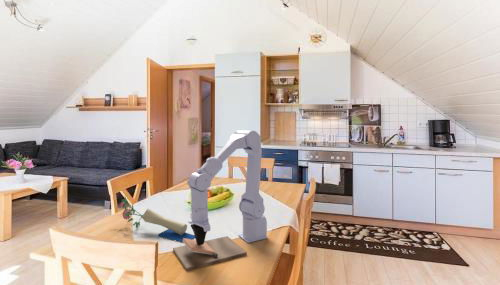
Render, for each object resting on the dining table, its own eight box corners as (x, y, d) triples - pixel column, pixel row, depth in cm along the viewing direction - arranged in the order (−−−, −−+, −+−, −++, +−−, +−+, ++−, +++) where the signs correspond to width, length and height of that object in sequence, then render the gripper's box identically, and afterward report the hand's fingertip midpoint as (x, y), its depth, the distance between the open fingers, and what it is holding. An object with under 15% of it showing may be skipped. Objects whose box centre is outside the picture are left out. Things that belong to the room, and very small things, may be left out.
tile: (183, 238, 103) (182, 241, 103) (191, 247, 95) (190, 251, 95) (205, 242, 108) (204, 245, 108) (214, 251, 100) (213, 255, 100)
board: (227, 238, 116) (227, 233, 116) (246, 254, 102) (246, 248, 102) (173, 250, 105) (172, 244, 105) (186, 270, 92) (186, 264, 91)
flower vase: (175, 255, 118) (108, 226, 128) (191, 236, 128) (128, 210, 138) (175, 233, 112) (105, 205, 122) (192, 215, 123) (126, 190, 133)
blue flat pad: (185, 242, 111) (157, 234, 118) (185, 245, 112) (157, 236, 118) (197, 235, 118) (169, 228, 125) (197, 238, 118) (169, 230, 125)
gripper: (182, 203, 105) (183, 239, 106) (195, 214, 92) (196, 255, 94) (200, 200, 108) (201, 235, 110) (215, 211, 96) (216, 250, 97)
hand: (200, 244), depth 102 cm, fingers closed, pressing on tile
